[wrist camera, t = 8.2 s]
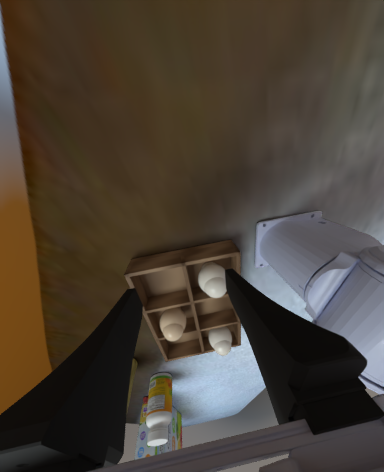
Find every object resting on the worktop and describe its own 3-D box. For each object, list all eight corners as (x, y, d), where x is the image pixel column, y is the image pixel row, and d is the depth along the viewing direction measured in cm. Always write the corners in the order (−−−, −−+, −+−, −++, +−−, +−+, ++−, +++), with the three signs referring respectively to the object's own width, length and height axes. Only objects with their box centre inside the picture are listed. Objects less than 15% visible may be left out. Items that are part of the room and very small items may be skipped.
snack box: (141, 396, 40) (124, 513, 27) (160, 391, 40) (153, 505, 27) (166, 418, 50) (164, 512, 36) (182, 414, 50) (185, 506, 36)
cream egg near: (222, 254, 21) (235, 278, 17) (223, 276, 23) (235, 302, 18) (193, 260, 21) (199, 285, 16) (197, 281, 23) (203, 309, 18)
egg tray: (231, 239, 21) (240, 251, 18) (234, 328, 31) (240, 345, 28) (131, 259, 21) (124, 274, 18) (166, 342, 30) (165, 361, 27)
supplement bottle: (172, 380, 38) (172, 444, 29) (151, 383, 37) (145, 449, 29) (171, 370, 36) (171, 436, 27) (149, 373, 35) (141, 441, 26)
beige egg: (183, 297, 24) (185, 327, 20) (187, 314, 26) (190, 344, 21) (158, 302, 24) (154, 334, 19) (164, 318, 26) (162, 350, 21)
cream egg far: (226, 315, 27) (236, 344, 23) (227, 328, 29) (237, 358, 25) (205, 320, 27) (211, 350, 23) (207, 333, 29) (213, 363, 25)
